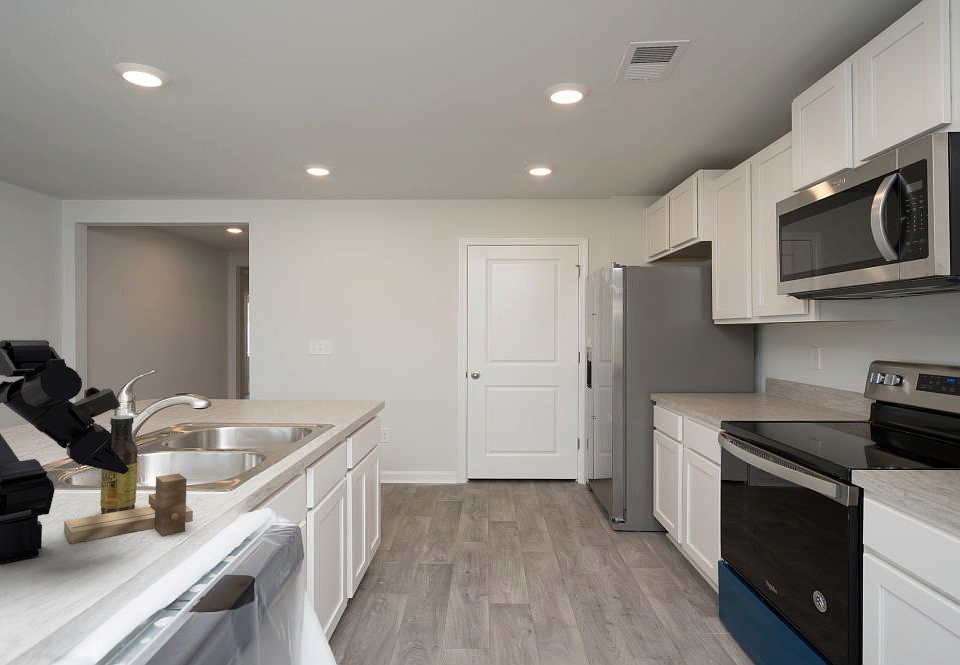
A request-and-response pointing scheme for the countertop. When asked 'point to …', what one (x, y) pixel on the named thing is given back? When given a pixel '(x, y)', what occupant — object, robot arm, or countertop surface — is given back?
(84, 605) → the countertop surface
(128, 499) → the sauce bottle
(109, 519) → the board
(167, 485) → the gauge
